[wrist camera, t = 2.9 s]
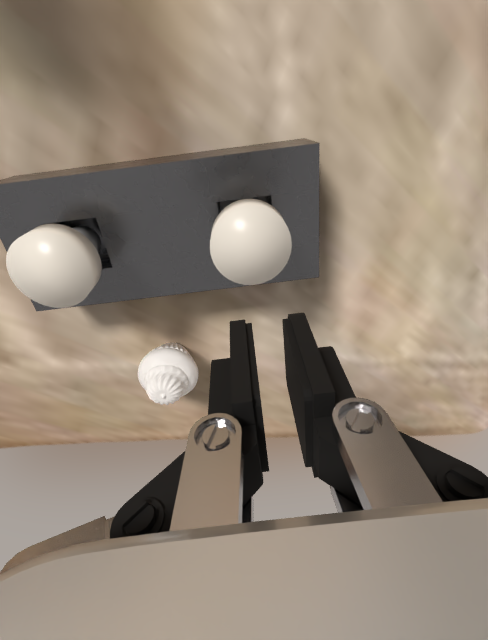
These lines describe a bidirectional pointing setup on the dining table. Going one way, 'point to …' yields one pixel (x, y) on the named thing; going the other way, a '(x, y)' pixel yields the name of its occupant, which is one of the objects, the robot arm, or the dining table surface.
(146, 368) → the white ribbed round lump
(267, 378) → the dining table surface
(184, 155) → the mount
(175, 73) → the dining table surface
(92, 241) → the knob
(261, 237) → the knob
